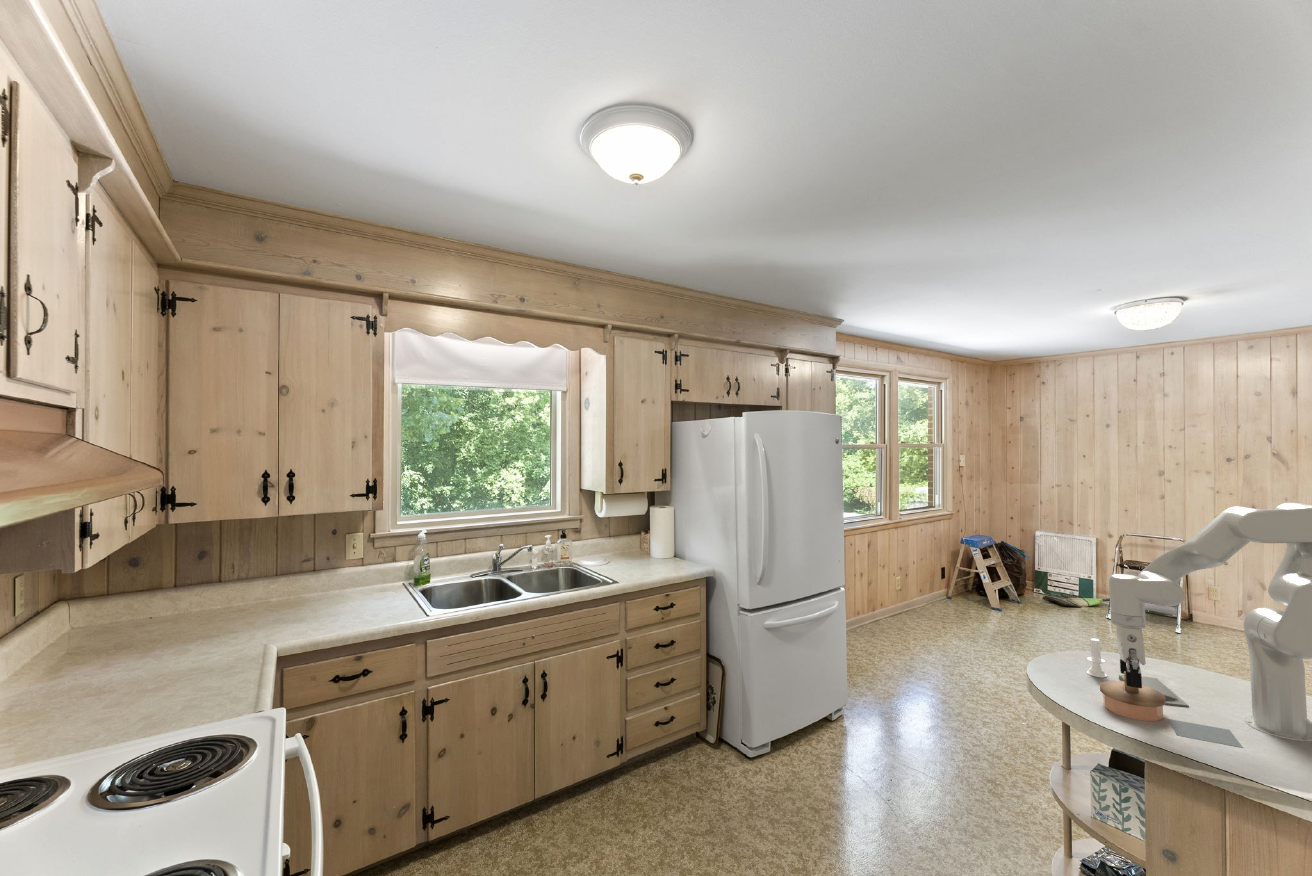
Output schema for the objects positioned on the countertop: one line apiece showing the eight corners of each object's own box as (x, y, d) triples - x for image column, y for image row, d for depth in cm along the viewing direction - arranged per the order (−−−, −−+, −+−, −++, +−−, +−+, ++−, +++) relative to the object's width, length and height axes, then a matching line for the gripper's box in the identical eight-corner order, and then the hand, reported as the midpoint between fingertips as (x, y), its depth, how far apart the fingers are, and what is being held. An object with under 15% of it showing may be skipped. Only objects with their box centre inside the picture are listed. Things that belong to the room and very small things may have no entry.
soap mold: (1158, 684, 174) (1158, 673, 174) (1191, 713, 155) (1191, 700, 155) (1118, 680, 178) (1117, 669, 178) (1145, 707, 159) (1145, 695, 159)
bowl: (1157, 709, 157) (1156, 691, 157) (1167, 728, 146) (1166, 709, 146) (1101, 699, 163) (1100, 682, 164) (1107, 717, 153) (1106, 699, 153)
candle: (1086, 669, 185) (1085, 633, 185) (1107, 673, 181) (1105, 636, 182) (1086, 675, 181) (1084, 638, 181) (1107, 679, 177) (1105, 641, 178)
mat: (1229, 733, 143) (1229, 729, 143) (1243, 751, 134) (1243, 747, 135) (1167, 722, 149) (1167, 718, 149) (1177, 739, 141) (1176, 735, 141)
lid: (1159, 691, 157) (1158, 669, 157) (1171, 711, 145) (1170, 687, 145) (1096, 681, 165) (1095, 660, 165) (1103, 699, 153) (1102, 677, 153)
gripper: (1152, 630, 146) (1155, 695, 146) (1139, 612, 161) (1142, 672, 160) (1115, 625, 150) (1118, 689, 150) (1106, 609, 165) (1109, 667, 164)
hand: (1130, 680), depth 155 cm, fingers open, 9 cm apart
